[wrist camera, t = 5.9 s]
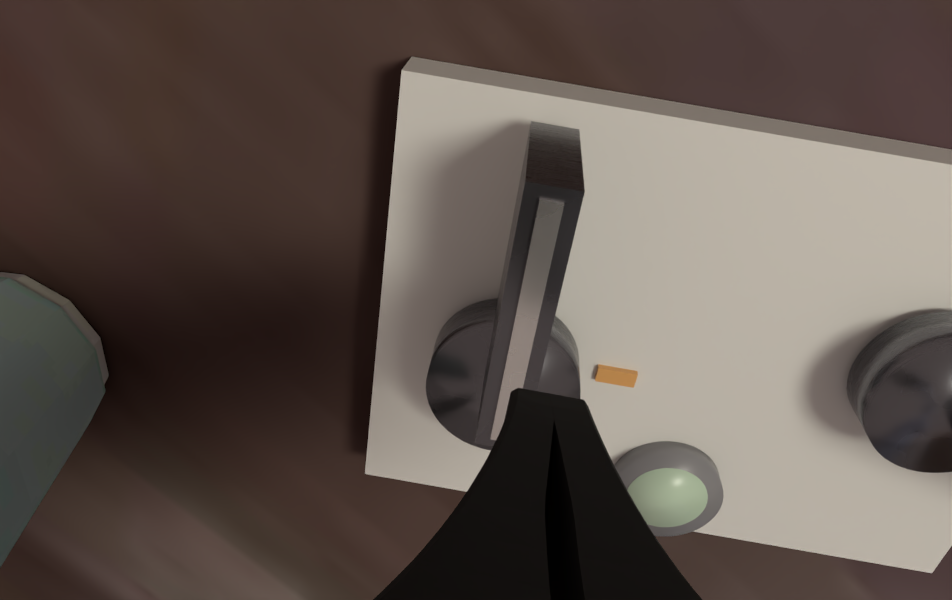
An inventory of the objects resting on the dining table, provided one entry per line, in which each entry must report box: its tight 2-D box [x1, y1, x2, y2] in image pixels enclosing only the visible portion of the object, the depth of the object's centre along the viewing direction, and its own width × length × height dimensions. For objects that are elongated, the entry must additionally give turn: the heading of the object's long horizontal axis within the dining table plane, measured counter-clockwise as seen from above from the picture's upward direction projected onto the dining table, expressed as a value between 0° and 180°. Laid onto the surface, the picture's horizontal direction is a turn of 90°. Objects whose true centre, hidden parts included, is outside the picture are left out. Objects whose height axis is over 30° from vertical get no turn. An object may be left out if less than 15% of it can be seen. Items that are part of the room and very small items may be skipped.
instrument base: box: [365, 57, 952, 573], centre depth 22 cm, size 14×20×2 cm
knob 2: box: [426, 121, 585, 450], centre depth 19 cm, size 10×4×4 cm, turn 172°
